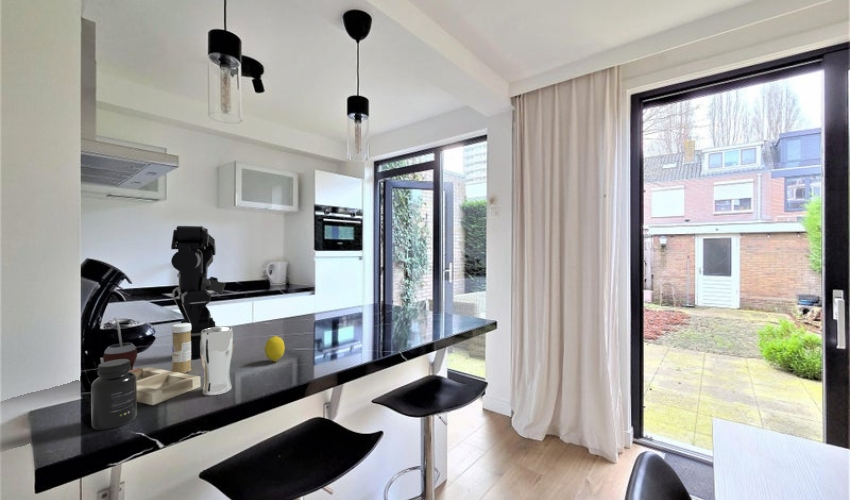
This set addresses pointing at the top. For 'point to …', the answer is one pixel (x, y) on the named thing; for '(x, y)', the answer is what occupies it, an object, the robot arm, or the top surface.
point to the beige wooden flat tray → (162, 384)
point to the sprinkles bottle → (181, 347)
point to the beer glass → (216, 359)
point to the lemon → (274, 348)
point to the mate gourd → (121, 350)
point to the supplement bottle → (113, 395)
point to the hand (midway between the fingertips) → (191, 324)
